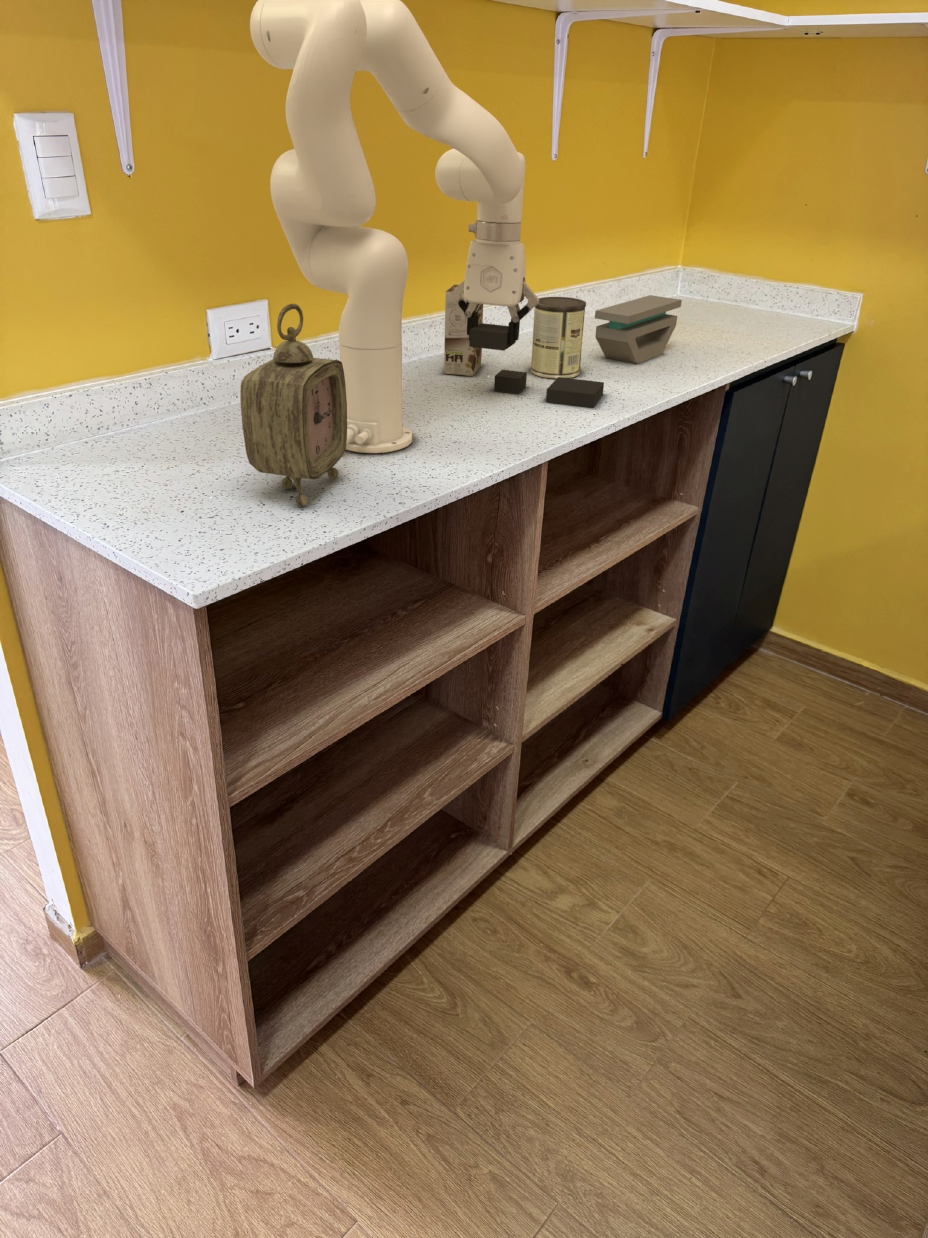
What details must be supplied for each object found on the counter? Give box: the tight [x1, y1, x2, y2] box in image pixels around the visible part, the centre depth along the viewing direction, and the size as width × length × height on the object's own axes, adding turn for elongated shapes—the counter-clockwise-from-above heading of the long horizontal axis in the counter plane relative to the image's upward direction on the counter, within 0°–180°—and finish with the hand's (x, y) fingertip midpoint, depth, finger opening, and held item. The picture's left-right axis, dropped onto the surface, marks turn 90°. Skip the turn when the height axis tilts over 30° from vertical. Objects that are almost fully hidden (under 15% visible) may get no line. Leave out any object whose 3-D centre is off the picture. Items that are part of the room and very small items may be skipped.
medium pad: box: [469, 322, 511, 352], centre depth 157 cm, size 6×6×3 cm
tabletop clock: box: [239, 303, 347, 507], centre depth 117 cm, size 14×9×25 cm, turn 164°
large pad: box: [545, 377, 605, 409], centre depth 165 cm, size 9×9×2 cm
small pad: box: [493, 369, 528, 395], centre depth 170 cm, size 5×5×3 cm
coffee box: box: [443, 284, 484, 377], centre depth 178 cm, size 9×6×16 cm
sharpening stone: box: [594, 294, 683, 365], centre depth 193 cm, size 25×8×11 cm, turn 143°
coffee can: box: [530, 296, 587, 380], centre depth 179 cm, size 10×10×14 cm
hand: (492, 340), depth 157 cm, fingers closed on medium pad, 6 cm apart
